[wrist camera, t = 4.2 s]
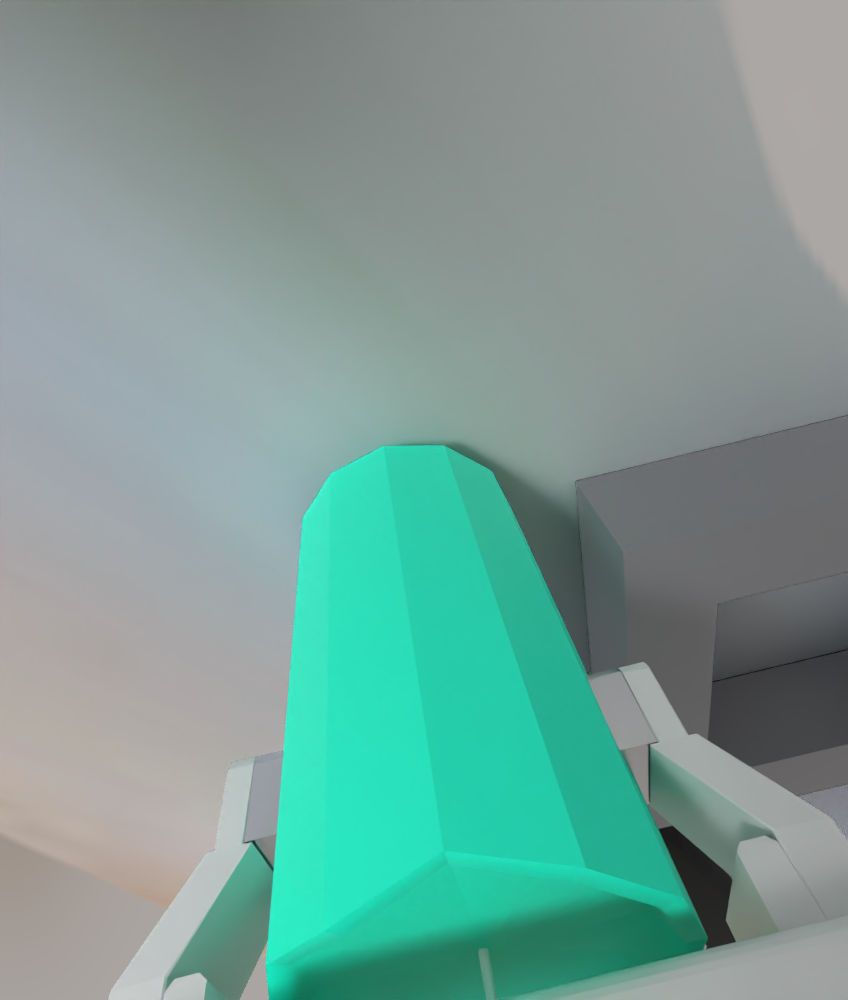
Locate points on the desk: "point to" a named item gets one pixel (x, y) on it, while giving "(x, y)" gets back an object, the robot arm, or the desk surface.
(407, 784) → the candle
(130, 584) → the desk surface
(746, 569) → the socket block
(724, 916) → the light switch
